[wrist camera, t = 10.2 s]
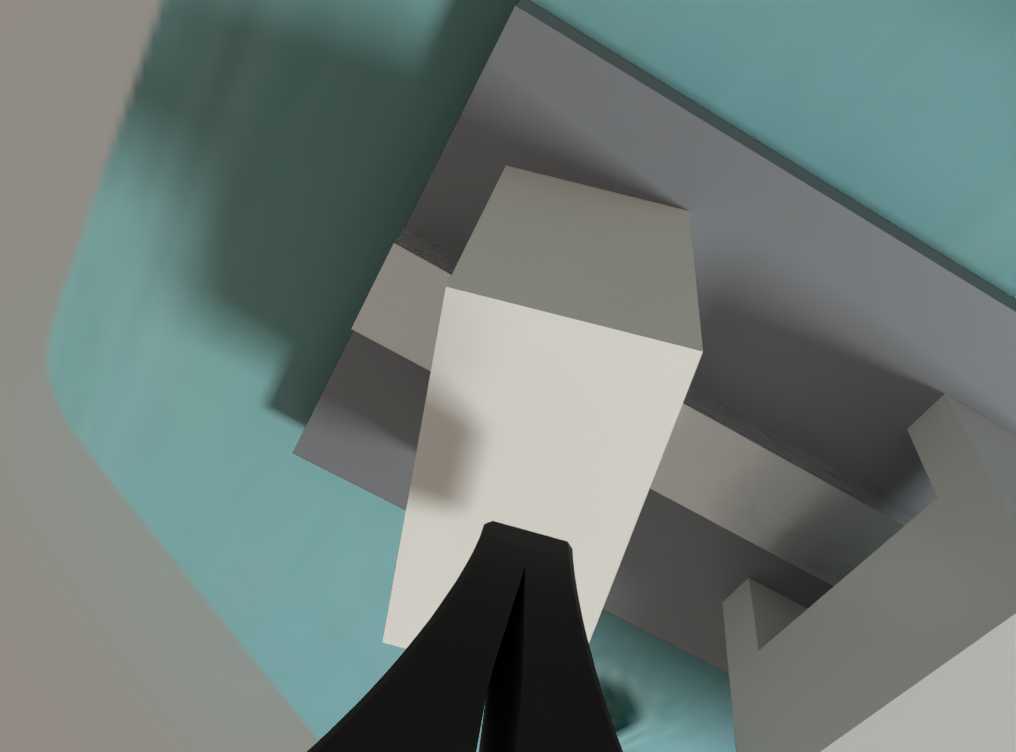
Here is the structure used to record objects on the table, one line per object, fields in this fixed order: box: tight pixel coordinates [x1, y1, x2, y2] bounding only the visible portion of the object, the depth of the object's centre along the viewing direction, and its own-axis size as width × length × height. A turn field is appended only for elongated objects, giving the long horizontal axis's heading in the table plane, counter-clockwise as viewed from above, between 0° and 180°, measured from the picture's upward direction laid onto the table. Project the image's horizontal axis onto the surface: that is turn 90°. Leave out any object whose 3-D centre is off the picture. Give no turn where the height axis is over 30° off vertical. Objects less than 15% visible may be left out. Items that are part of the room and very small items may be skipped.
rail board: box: [293, 0, 1016, 752], centre depth 18 cm, size 17×13×7 cm
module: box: [383, 165, 703, 649], centre depth 17 cm, size 4×9×6 cm, turn 168°
